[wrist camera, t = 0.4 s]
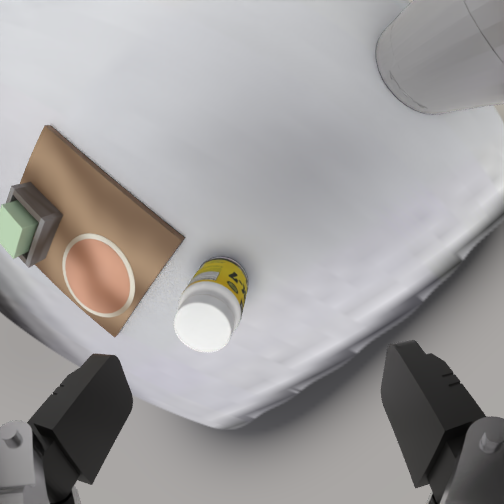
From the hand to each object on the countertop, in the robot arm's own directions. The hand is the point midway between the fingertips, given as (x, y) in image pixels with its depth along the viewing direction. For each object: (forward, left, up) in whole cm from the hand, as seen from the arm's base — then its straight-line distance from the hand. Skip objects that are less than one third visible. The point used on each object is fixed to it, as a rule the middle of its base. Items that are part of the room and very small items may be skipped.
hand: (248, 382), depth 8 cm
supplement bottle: (+6, 0, -19) cm, 20 cm away
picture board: (+12, -15, -19) cm, 27 cm away
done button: (+14, -20, -15) cm, 29 cm away
